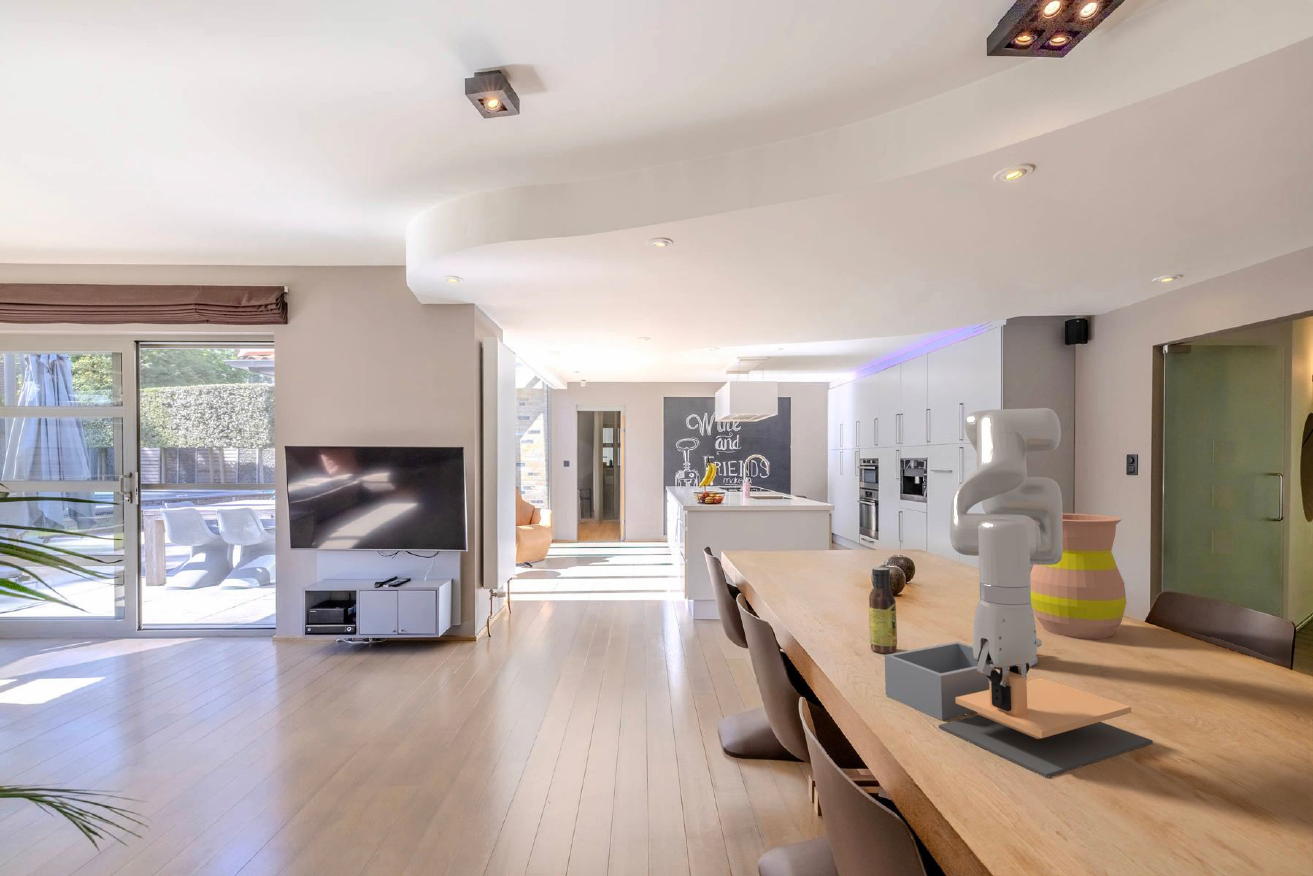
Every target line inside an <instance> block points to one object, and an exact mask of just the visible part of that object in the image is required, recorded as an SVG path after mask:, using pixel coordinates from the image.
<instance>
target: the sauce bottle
mask: <svg viewBox="0 0 1313 876" xmlns="http://www.w3.org/2000/svg"><path fill="white" fill-rule="evenodd" d="M871 572H872V573H871V574H872V579H873V584H872V585H873V587H872V590H871V592H870V593H869V595H868V596H869V597H868V600H869V604H868V605H869V606H868V612H869V613H868V615H869V619H868V620H869V640H870V641H869V643H870V649H871V651H872V652H875V653H878V652H879V654H893V653H897V650H898V649H897V645H898V631H897V605H896V603H897V602H896V599H895V597H894V594H893V592H892V589H891V584H890V576H891V575H890V574H891V571H890V568H888V567H872V571H871Z"/></svg>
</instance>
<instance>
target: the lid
mask: <svg viewBox="0 0 1313 876" xmlns="http://www.w3.org/2000/svg"><path fill="white" fill-rule="evenodd" d="M996 671H997V672H998V673H999V674H1000V670H998V669H996ZM1007 686H1010V687H1011V711H1005V710H1002V709H1000V708H997V707H995V706H993V705H992V693H991V682H989V690H986V691H981V692H977V693H972V694H968V695H964V696H959V697H955V699H956V704H959V705H961V706H964V707H966V708H969V709H971V710H974V711H976V713H977V714H976V715H980V716H983V717H985V718H988V719H990V720H993V721H995V722H998V723H1000V724H1002V725H1005V726H1007V727H1010V728H1012V729H1015V730H1017V731H1019V732H1022V733H1024V734H1027V735H1029V736H1032V737H1034V738H1037V739H1040V738H1045V737H1048V736H1052V735H1055V734H1059V733H1062V732H1066V731H1069V730H1073V729H1076V728H1080V727H1083V726H1087V725H1090V724H1094V723H1097V722H1104V721H1108V720H1111V719H1115V718H1117V717H1121V716H1124V715H1125V716H1126V715H1128V714H1129V715H1130V714H1131V713H1132V706H1130V705H1127V704H1124V703H1121V702H1118V701H1115V700H1111V699H1108V698H1105V697H1102V696H1099V695H1096V694H1093V693H1090V692H1087V691H1083V690H1080V689H1078V688H1074V687H1071V686H1067V685H1064V684H1062V683H1059V682H1054V681H1051V680H1049V679H1045V678H1042V677H1038V678H1035V679H1030V680H1028V679H1027V680H1026V677H1025V676H1022V675H1019V674H1016V673H1013V672H1010V671H1008V684H1007Z"/></svg>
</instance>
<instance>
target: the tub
mask: <svg viewBox="0 0 1313 876" xmlns="http://www.w3.org/2000/svg"><path fill="white" fill-rule="evenodd" d="M977 665H978V661H976V660H975V659H974V657H973V645H970V644H966V643H964V642H961V641H960V642H959V641H953V642H948V643H943V644H938V645H932V646H927V647H922V648H916V649H909V650H905V651H900V652H894V653H887V654H885V655H884V675H885V676H884V677H885V682H884V683H885V684H884V685H885V696H886V695H887V696H886V697H888V696H889V698H890V699H892V698H893V699H892V700H895V701H897V700H898V701H897V702H899V701H900V702H899V703H901V704H903V703H904V705H905V706H908V707H910V708H913V709H915V710H917V711H919V712H921V711H922V713H924V714H926V715H929V716H931V717H933V716H934V717H933V718H935V719H937V718H938V719H937V720H939V719H941V720H943V721H946V720H945V719H947V720H951V719H955V718H958V717H957V716H959V717H963V716H966V715H965V714H967V715H971V713H972V714H975V713H974V712H976V711H974V710H971V709H969V708H966V707H964V706H961V705H959V704H956V699H955V697H959V696H964V695H968V694H972V693H977V692H981V691H986V690H989V681H988V677H987V676H986V675H985V674H983V673H980V672H978V671H977ZM976 713H977V712H976ZM954 717H955V718H954ZM941 720H940V721H941Z"/></svg>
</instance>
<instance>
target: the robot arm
mask: <svg viewBox="0 0 1313 876" xmlns="http://www.w3.org/2000/svg"><path fill="white" fill-rule="evenodd" d="M964 430H965V434H966V436H967V438H968V440H969V442H970V444H971V445H972V448H974V450H975V452H976V470H975V471H974V472H972V473H971V474H970V475H969V476H968V477H967V478H966V479H964V481H962V482H961V483H960V485H959V486H958V487H957V489H956V491H955V492H954V494H953V496H952V499H951V504H950V515H949V516H950V517H949V538H950V539H949V540H950V544H951V546H952V549H953V550H954V551H955V552H957V553H958V554H960V555H963V556H971V557H973V556H974V557H975V556H976V557H978V563H979V564H978V571H979V572H978V573H979V580H978V581H979V601H978V602H977V603H976V608H975V613H974V619H973V633H972V635H973V636H972V646H973V657H974V659H975V660H976V661H978V665H977V671H978V672H980V673H983V674H985V675H986V676H987V677H988V681H989V682H991V693H992V705H993V706H995V707H997V708H1000V709H1002V710H1005V711H1011V687H1010V686H1007V684H1008V671H1010V672H1013V673H1016V674H1019V675H1022V676H1025V677H1026V680H1027V681H1028V678H1027V677H1028V676H1027V674H1028V672H1029V671H1030V668H1031V667H1032V666H1035V665H1037V664H1038V662H1039V658H1038V655H1037V654H1038V653H1037V652H1038V648H1040V647H1042V645H1043V641H1042V639H1041V638H1037V626H1036V620H1035V614H1034V611H1033V608H1032V604H1031V585H1030V584H1031V583H1030V573H1031V565H1054V564H1057V563H1059V562H1060V560H1061V558H1062V555H1063V514H1064V512H1063V497H1062V491H1061V488H1060V485H1059V484H1058V483H1057V481H1056V480H1054V479H1053V478H1049V477H1043V476H1042V477H1041V476H1028V468H1027V467H1028V466H1027V456H1026V455H1027V454H1026V452H1053V451H1056V449H1057V448H1058V447H1059V445H1060V443H1061V439H1062V429H1061V422H1060V419H1059V416H1058V415H1057V413H1056V412H1055V410H1054V409H1051V408H1048V407H1039V408H1036V407H1035V408H1034V407H1032V408H1031V407H1030V408H1011V409H1010V408H1008V409H1007V408H1002V409H1001V408H999V409H998V408H997V409H986V410H985V409H984V410H977V411H976V410H975V411H973V412H971V413H969V414H967V415H966V417H965V418H964ZM980 502H981V505H982V509H983V512H984V513H968V512H969V510H970V509H971V508H972V507H974V506H975V505H977V504H979V503H980ZM1034 520H1037V521H1038V522H1039V523H1035V521H1034ZM996 669H998V670H1000V674H999V673H998V672H997V671H996Z"/></svg>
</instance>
